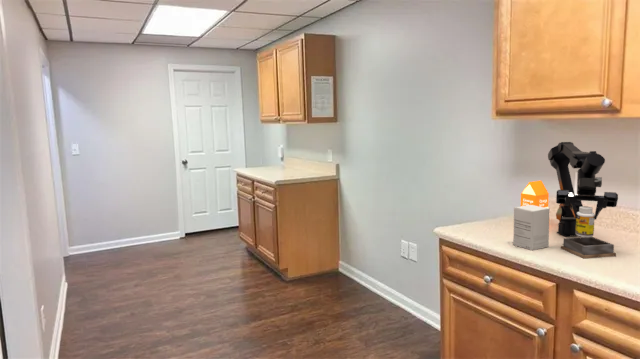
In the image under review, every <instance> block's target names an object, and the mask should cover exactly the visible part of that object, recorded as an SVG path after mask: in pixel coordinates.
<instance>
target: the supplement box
mask: <svg viewBox="0 0 640 359" xmlns="http://www.w3.org/2000/svg"><path fill="white" fill-rule="evenodd" d="M549 237H550V208H549V207H548V208H545V207H539V206H535V205H526V206H521V205H520V206H515V207H513V238H512V239H513V242H512V243H513V246H515V247H516V246H517V247H518V248H519V247H520V248H522V249H526V250H530V251H535V250H540V249H544V248H549V243H550V242H549V240H550V238H549Z"/></svg>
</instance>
